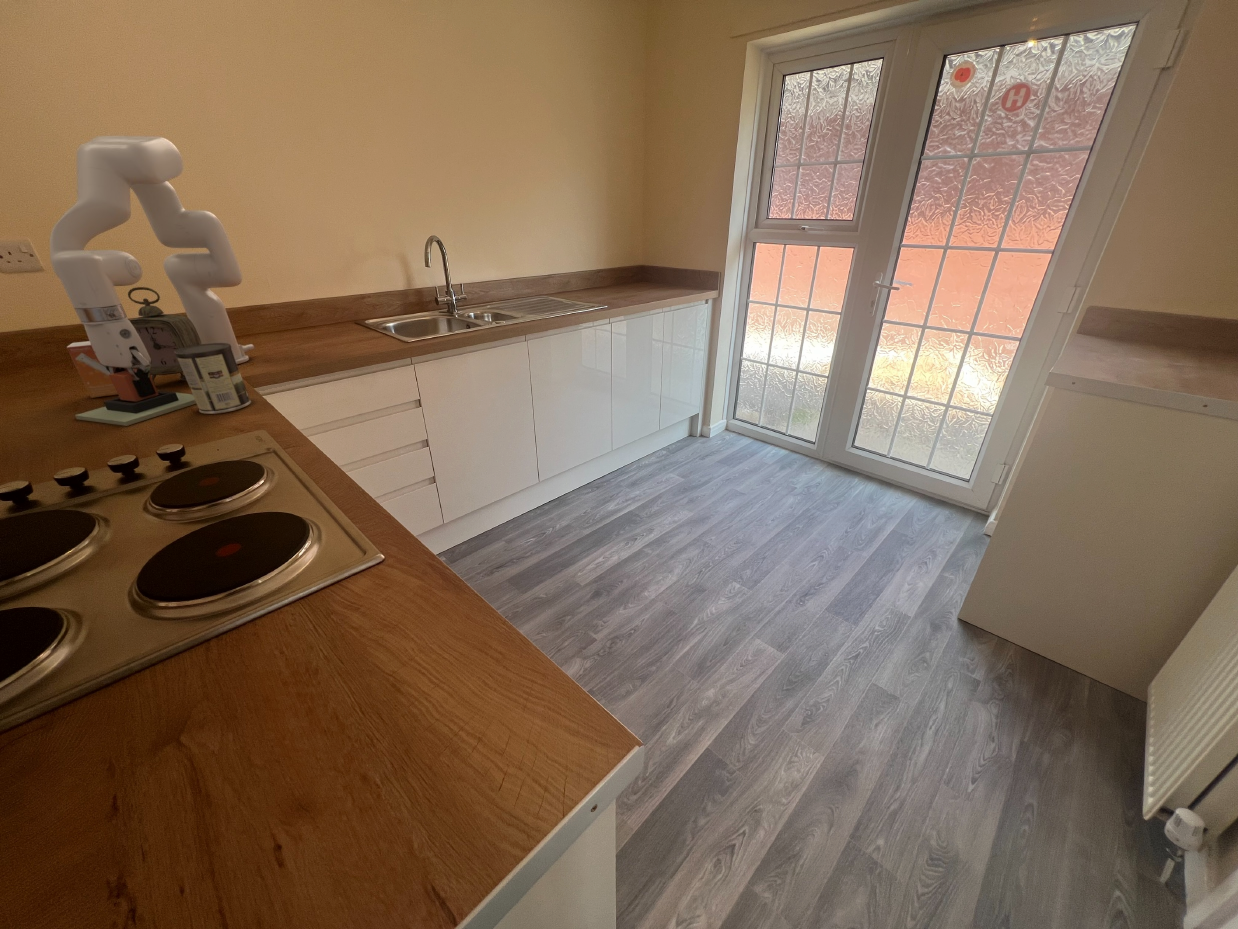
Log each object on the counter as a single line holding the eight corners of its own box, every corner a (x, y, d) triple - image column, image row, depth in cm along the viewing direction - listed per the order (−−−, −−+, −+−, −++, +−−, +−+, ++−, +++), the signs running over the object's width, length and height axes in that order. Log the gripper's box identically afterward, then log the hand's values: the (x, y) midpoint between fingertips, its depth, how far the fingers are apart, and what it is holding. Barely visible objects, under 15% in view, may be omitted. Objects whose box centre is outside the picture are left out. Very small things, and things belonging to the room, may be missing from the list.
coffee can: (231, 397, 125) (210, 341, 119) (261, 401, 122) (241, 344, 116) (187, 411, 116) (162, 351, 110) (219, 416, 113) (194, 354, 107)
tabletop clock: (140, 389, 133) (95, 290, 121) (162, 379, 141) (122, 285, 129) (200, 385, 135) (161, 288, 123) (218, 376, 143) (183, 283, 131)
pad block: (144, 393, 120) (133, 368, 117) (159, 394, 119) (148, 370, 116) (120, 399, 116) (108, 374, 113) (135, 401, 114) (123, 376, 112)
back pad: (161, 394, 128) (156, 383, 127) (208, 399, 124) (203, 388, 123) (76, 419, 113) (70, 406, 112) (126, 426, 109) (120, 413, 107)
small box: (91, 398, 126) (64, 347, 120) (96, 392, 131) (72, 342, 125) (133, 392, 130) (109, 342, 124) (137, 386, 135) (115, 337, 129)
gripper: (149, 313, 110) (182, 392, 118) (95, 310, 114) (131, 387, 122) (109, 319, 103) (147, 403, 112) (54, 316, 108) (95, 396, 116)
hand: (138, 393), depth 117 cm, fingers closed on pad block, 5 cm apart
